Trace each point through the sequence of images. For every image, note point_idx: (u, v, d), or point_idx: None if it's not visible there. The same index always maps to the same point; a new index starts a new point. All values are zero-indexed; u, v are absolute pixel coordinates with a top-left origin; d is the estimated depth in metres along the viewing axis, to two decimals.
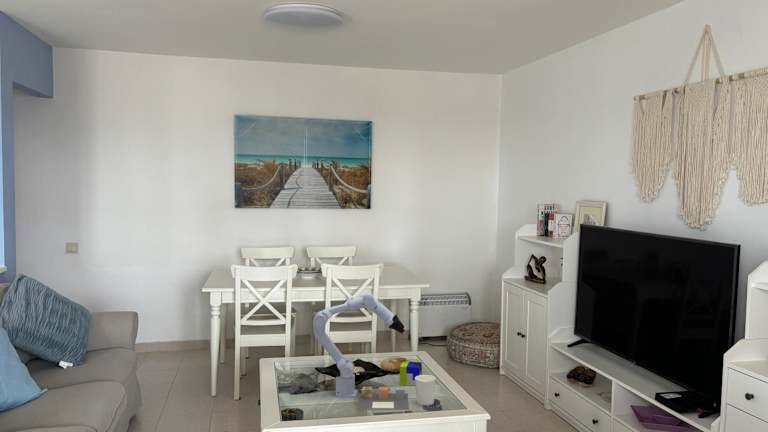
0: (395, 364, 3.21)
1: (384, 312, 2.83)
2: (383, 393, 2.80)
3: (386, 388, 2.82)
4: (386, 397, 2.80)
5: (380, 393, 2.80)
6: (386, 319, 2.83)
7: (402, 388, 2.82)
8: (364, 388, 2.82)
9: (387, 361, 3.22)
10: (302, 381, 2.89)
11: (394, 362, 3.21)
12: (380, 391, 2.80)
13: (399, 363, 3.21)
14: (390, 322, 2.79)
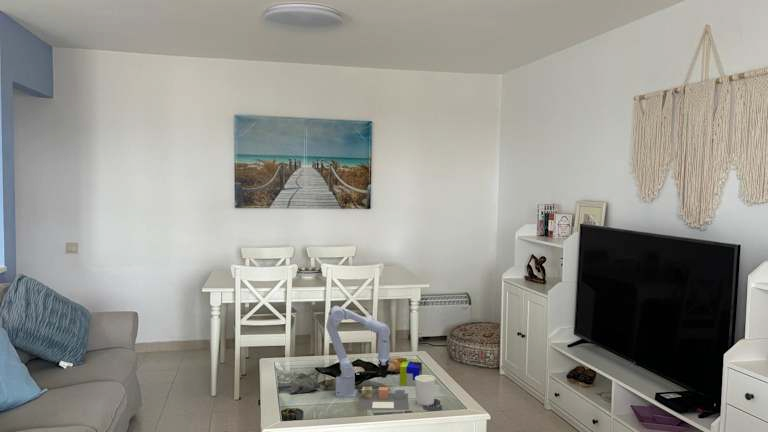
0: (396, 364, 3.20)
1: (385, 351, 2.88)
2: (383, 393, 2.80)
3: (386, 388, 2.82)
4: (386, 397, 2.80)
5: (380, 393, 2.80)
6: (381, 356, 2.88)
7: (402, 388, 2.82)
8: (364, 388, 2.82)
9: None
10: (302, 381, 2.89)
11: (395, 362, 3.21)
12: (380, 391, 2.80)
13: (400, 363, 3.21)
14: (383, 363, 2.83)
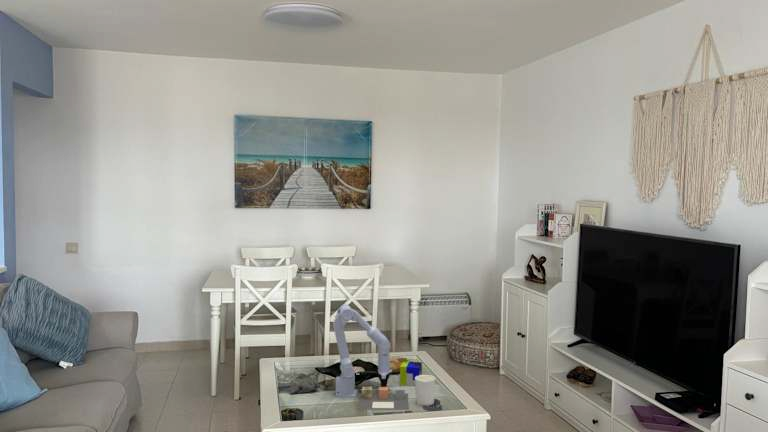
0: (397, 364, 3.20)
1: (385, 364, 2.88)
2: (383, 393, 2.80)
3: (386, 388, 2.82)
4: (386, 397, 2.80)
5: (380, 393, 2.80)
6: (381, 370, 2.88)
7: (402, 388, 2.82)
8: (364, 388, 2.82)
9: None
10: (302, 381, 2.89)
11: (395, 362, 3.21)
12: (380, 391, 2.80)
13: (401, 363, 3.21)
14: (383, 376, 2.84)
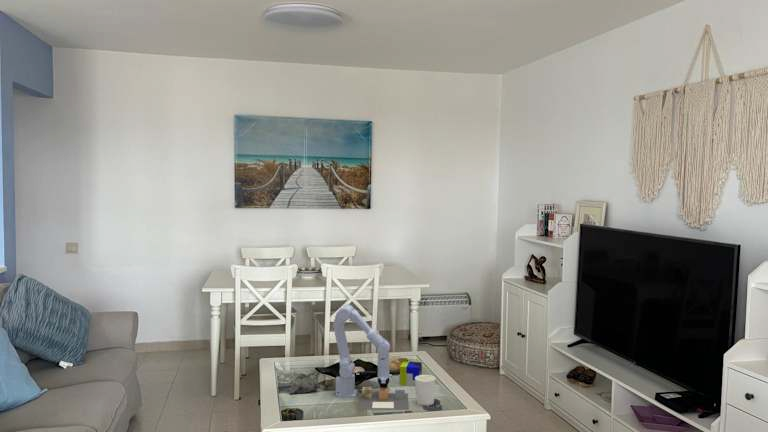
0: (398, 364, 3.20)
1: (385, 368, 2.82)
2: (383, 394, 2.79)
3: (386, 389, 2.81)
4: (386, 398, 2.79)
5: (380, 394, 2.79)
6: (381, 374, 2.82)
7: (402, 388, 2.82)
8: (364, 388, 2.82)
9: (389, 362, 3.21)
10: (302, 381, 2.89)
11: (396, 362, 3.20)
12: (380, 392, 2.79)
13: (401, 363, 3.20)
14: (383, 381, 2.77)
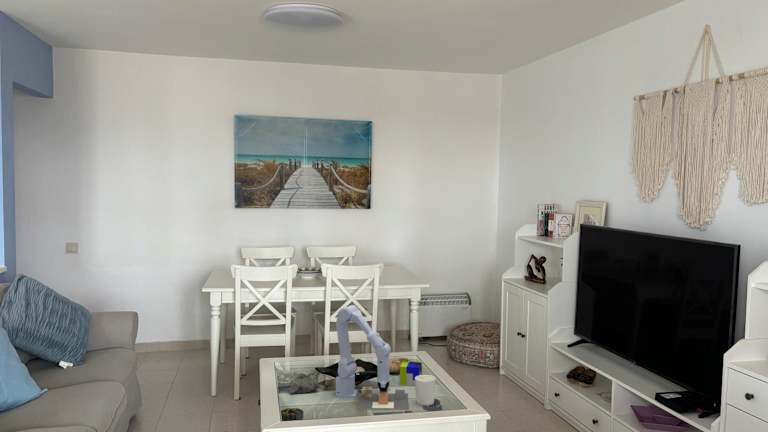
0: (398, 365, 3.19)
1: (385, 372, 2.76)
2: (383, 398, 2.73)
3: (386, 393, 2.75)
4: (386, 402, 2.73)
5: (380, 398, 2.73)
6: (381, 378, 2.76)
7: (402, 388, 2.82)
8: (364, 388, 2.82)
9: (390, 362, 3.21)
10: (302, 381, 2.89)
11: (397, 363, 3.20)
12: (380, 396, 2.73)
13: None
14: (383, 385, 2.71)
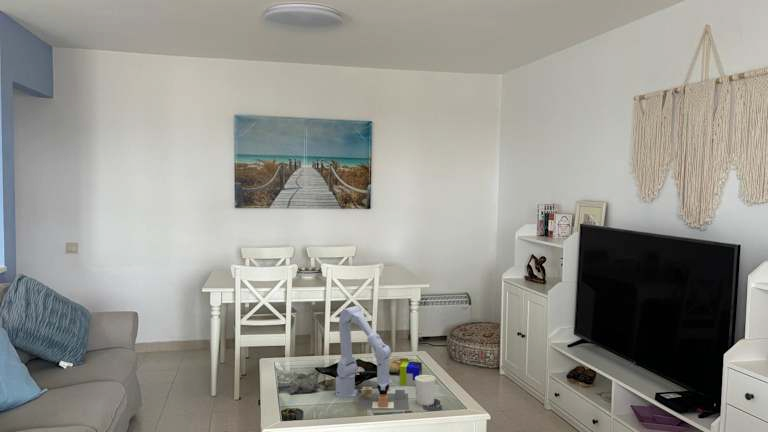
0: (399, 365, 3.19)
1: (385, 374, 2.72)
2: (383, 401, 2.69)
3: (386, 396, 2.71)
4: (386, 405, 2.69)
5: (380, 401, 2.69)
6: (381, 381, 2.72)
7: (402, 388, 2.82)
8: (364, 388, 2.82)
9: (391, 362, 3.20)
10: (301, 381, 2.89)
11: (398, 363, 3.20)
12: (380, 399, 2.69)
13: None
14: (382, 388, 2.68)
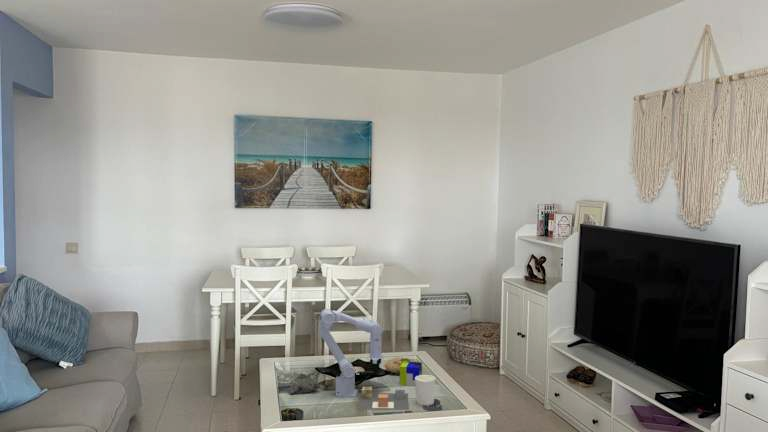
0: (400, 365, 3.19)
1: (377, 349, 2.87)
2: (383, 401, 2.69)
3: (386, 396, 2.71)
4: (386, 405, 2.69)
5: (380, 401, 2.69)
6: (373, 355, 2.88)
7: (402, 388, 2.82)
8: (364, 388, 2.82)
9: (392, 362, 3.20)
10: (301, 382, 2.89)
11: (399, 363, 3.20)
12: (380, 399, 2.69)
13: None
14: (374, 361, 2.83)
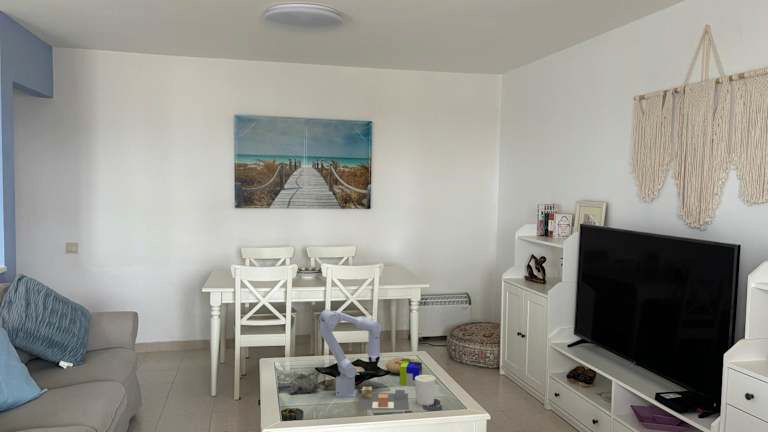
0: None
1: (375, 347, 2.91)
2: (383, 401, 2.69)
3: (386, 396, 2.71)
4: (386, 405, 2.69)
5: (380, 401, 2.69)
6: (371, 353, 2.91)
7: (402, 388, 2.82)
8: (364, 388, 2.82)
9: (393, 362, 3.19)
10: (301, 382, 2.89)
11: (400, 363, 3.19)
12: (380, 399, 2.69)
13: None
14: (373, 359, 2.86)
